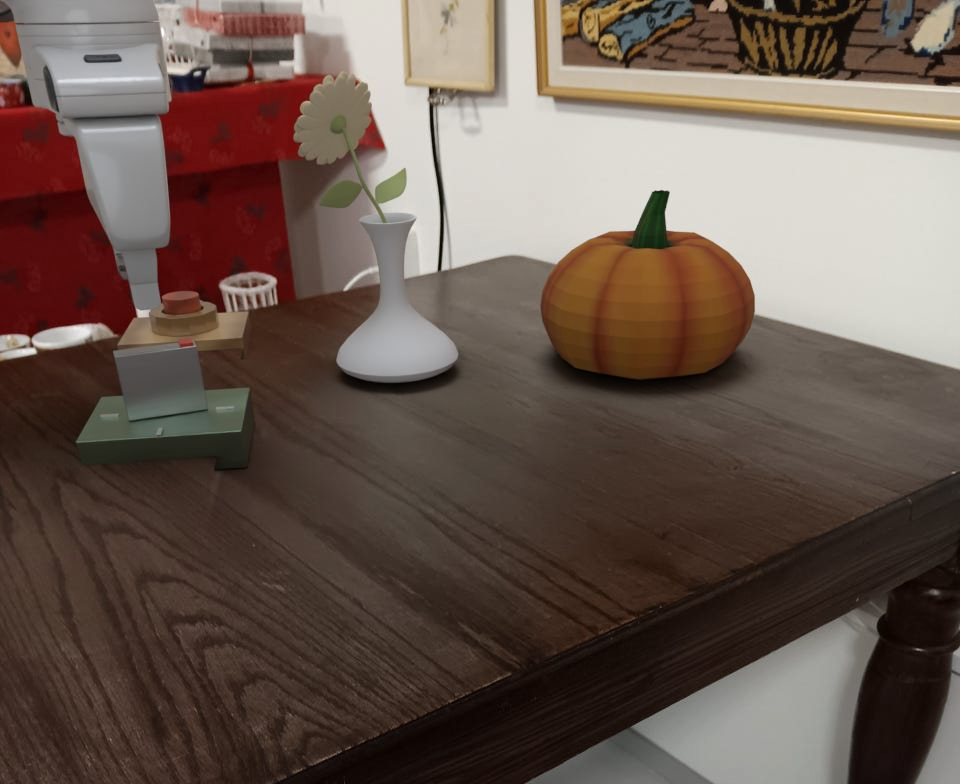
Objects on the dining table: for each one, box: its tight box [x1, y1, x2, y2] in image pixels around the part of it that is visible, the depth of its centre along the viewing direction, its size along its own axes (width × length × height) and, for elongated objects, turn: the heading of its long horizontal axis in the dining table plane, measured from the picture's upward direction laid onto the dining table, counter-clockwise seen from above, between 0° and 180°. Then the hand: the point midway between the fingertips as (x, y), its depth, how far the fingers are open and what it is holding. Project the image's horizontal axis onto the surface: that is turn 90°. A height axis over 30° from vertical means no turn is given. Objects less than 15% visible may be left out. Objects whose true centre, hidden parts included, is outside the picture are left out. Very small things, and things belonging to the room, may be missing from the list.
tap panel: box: [75, 387, 256, 471], centre depth 78 cm, size 12×10×3 cm
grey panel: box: [112, 338, 208, 421], centre depth 76 cm, size 6×2×5 cm, turn 112°
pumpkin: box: [540, 189, 756, 381], centre depth 91 cm, size 19×19×15 cm
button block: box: [116, 300, 253, 360], centre depth 101 cm, size 12×10×4 cm
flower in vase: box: [292, 70, 459, 384], centre depth 86 cm, size 13×11×25 cm
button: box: [161, 290, 201, 315], centre depth 100 cm, size 4×4×2 cm
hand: (139, 291), depth 73 cm, fingers open, 8 cm apart
